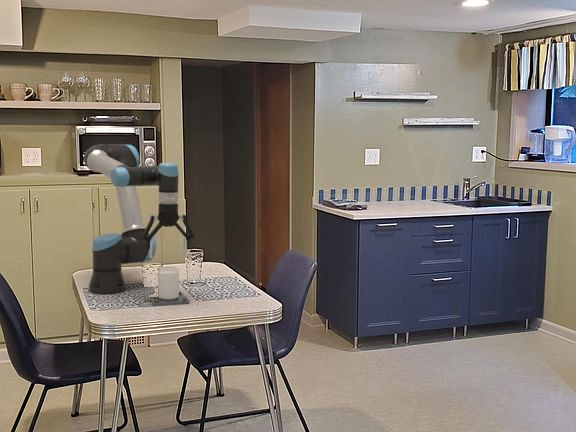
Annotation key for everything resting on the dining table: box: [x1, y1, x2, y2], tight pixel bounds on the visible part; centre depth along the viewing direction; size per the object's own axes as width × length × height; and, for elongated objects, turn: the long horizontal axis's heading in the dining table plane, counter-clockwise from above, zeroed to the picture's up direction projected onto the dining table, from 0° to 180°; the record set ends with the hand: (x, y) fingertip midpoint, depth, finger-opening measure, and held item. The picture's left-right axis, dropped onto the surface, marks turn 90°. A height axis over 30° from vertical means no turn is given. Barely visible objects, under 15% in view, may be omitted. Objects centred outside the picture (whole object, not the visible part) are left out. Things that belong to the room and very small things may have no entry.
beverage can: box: [157, 266, 180, 300], centre depth 278 cm, size 8×8×12 cm
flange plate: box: [149, 290, 190, 307], centre depth 279 cm, size 14×14×4 cm
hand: (168, 256), depth 277 cm, fingers open, 13 cm apart
